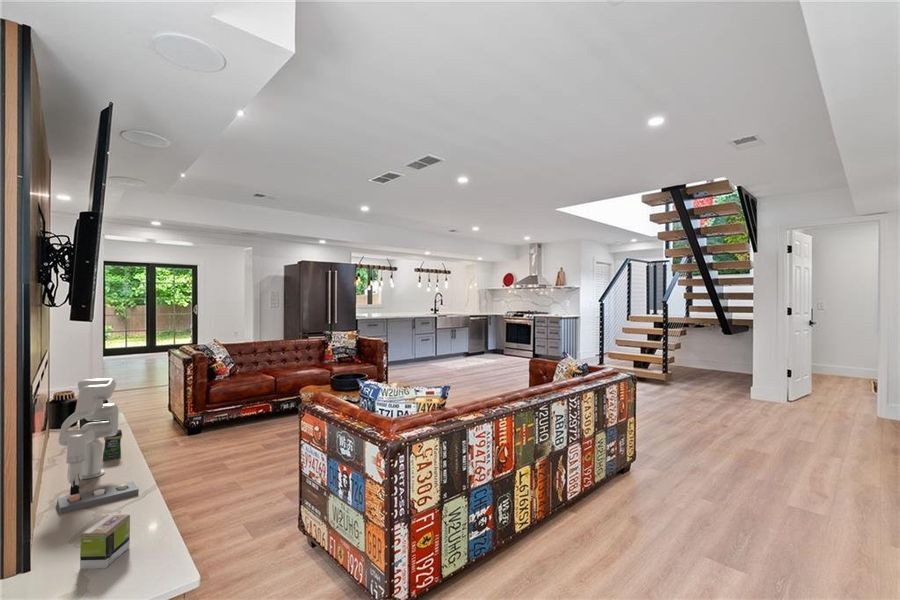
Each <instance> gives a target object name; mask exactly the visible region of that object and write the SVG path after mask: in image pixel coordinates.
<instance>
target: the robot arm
mask: <svg viewBox="0 0 900 600" xmlns="http://www.w3.org/2000/svg"><path fill="white" fill-rule="evenodd" d="M116 384H117V382H116V380H115V379H114V378H89V379H87V378H86V379H81V380H79V381H78V383H77V390H78V394H77V401H76V405H75V410H74V412H73V413H72V414H71V415H69V416H68V417H67V418H66V419H65V420H64V421H63V423H62V424H61V426H60V427H61V428H60V431H59V435H58V443H59V444H58V445H60V446H63V447H64V446H65V447H66V460H65V461H66V464H67V475H66V478H67V482H68V484H70V489H69V490H70V491H69V494H70V495H74V494H79V493H80V482H82V480H88V479H93V478H97V477H100V476H102V475H104V474H105V469H102V462H103V443H102V441H101V439H102V438H103V439H104V437H112V436H115V435H116V434H117V431H118V430H119V406H118V405H117V404H116V403H104V400H109V399H110V398H111V397H112V396H113V394H114V391H115V389H116V387H117V385H116ZM83 419H85V420H86V421H87V423H84V424H83V425H82V426H81V427H80V429H72V430H69V429H70V427H71V426H72V425H74V424H75V423H76V422H78V421H82V420H83Z"/></svg>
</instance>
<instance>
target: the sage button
mask: <svg viewBox="0 0 900 600" xmlns="http://www.w3.org/2000/svg"><path fill="white" fill-rule="evenodd" d="M119 484H120V485H118V484H117V485H118V486H117V491H120V490H124V489H127V484H122V483H119Z"/></svg>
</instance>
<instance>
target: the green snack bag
mask: <svg viewBox="0 0 900 600" xmlns="http://www.w3.org/2000/svg"><path fill="white" fill-rule="evenodd" d="M122 437H123V431H122V429H118V431H117V434H116V435H115V436H112V437H103V440H104V448H103V451H102V460H104V461H109V460H117V459H119V458H121V456H122V447H121V446H122V445H121V441H122V440H121V439H122Z"/></svg>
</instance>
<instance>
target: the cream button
mask: <svg viewBox="0 0 900 600" xmlns="http://www.w3.org/2000/svg"><path fill="white" fill-rule="evenodd" d="M97 489H98V490H96V489H94V490H95V491H94V496H99V495H103V494H104V491H105V490H104V489H100V488H97Z"/></svg>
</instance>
